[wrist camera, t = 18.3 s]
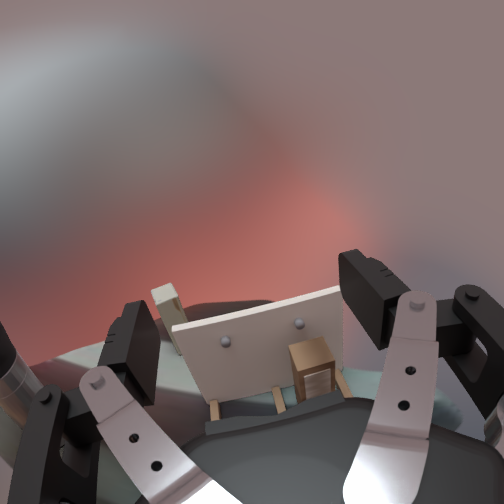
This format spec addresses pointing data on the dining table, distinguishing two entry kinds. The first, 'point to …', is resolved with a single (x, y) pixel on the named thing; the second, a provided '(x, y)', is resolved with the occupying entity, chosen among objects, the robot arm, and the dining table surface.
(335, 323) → the white upright flat panel
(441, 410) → the dining table surface
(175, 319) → the skincare box
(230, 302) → the dining table surface
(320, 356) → the frame block
